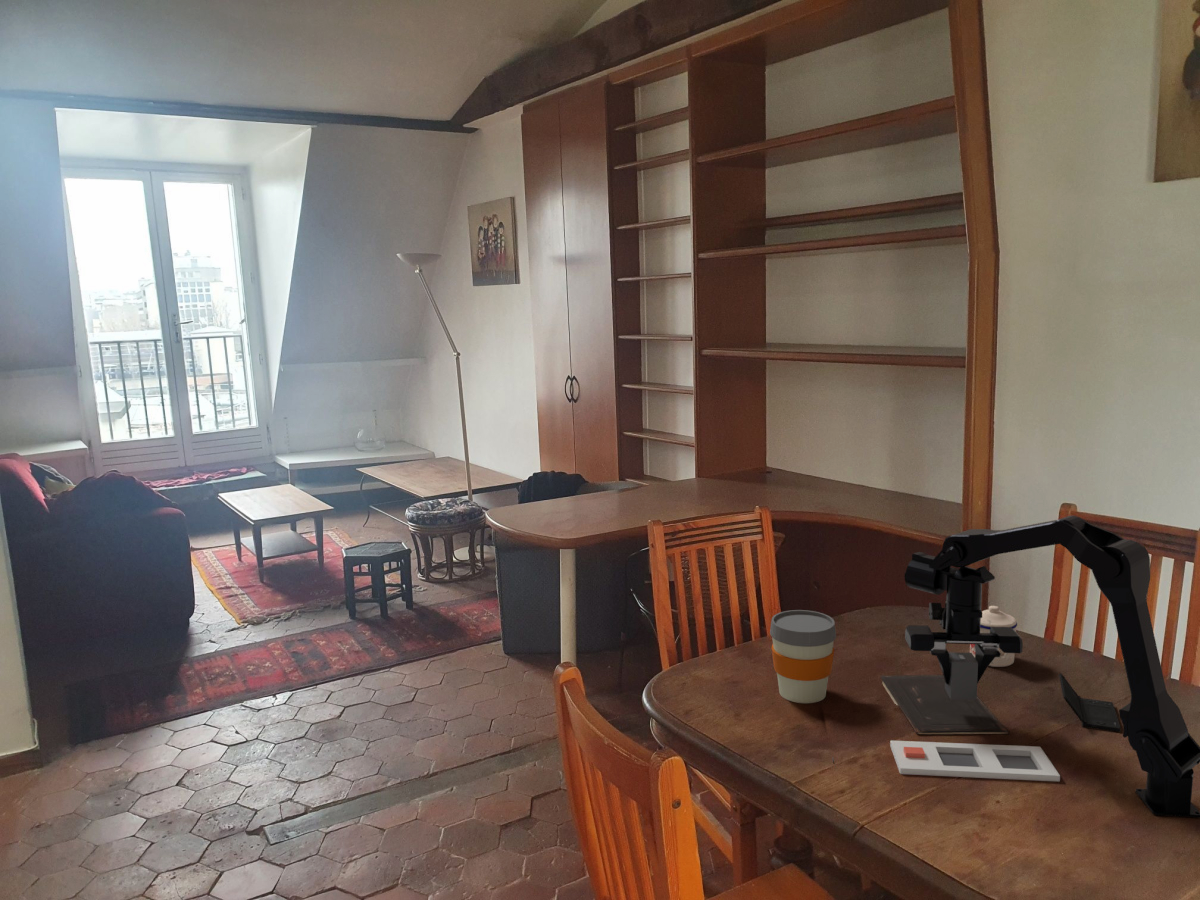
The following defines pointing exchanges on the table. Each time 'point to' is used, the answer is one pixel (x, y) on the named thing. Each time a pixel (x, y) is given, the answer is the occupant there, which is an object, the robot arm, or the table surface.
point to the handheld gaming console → (1090, 709)
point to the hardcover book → (939, 707)
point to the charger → (962, 676)
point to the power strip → (973, 760)
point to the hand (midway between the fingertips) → (960, 683)
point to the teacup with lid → (996, 619)
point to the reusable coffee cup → (802, 654)
